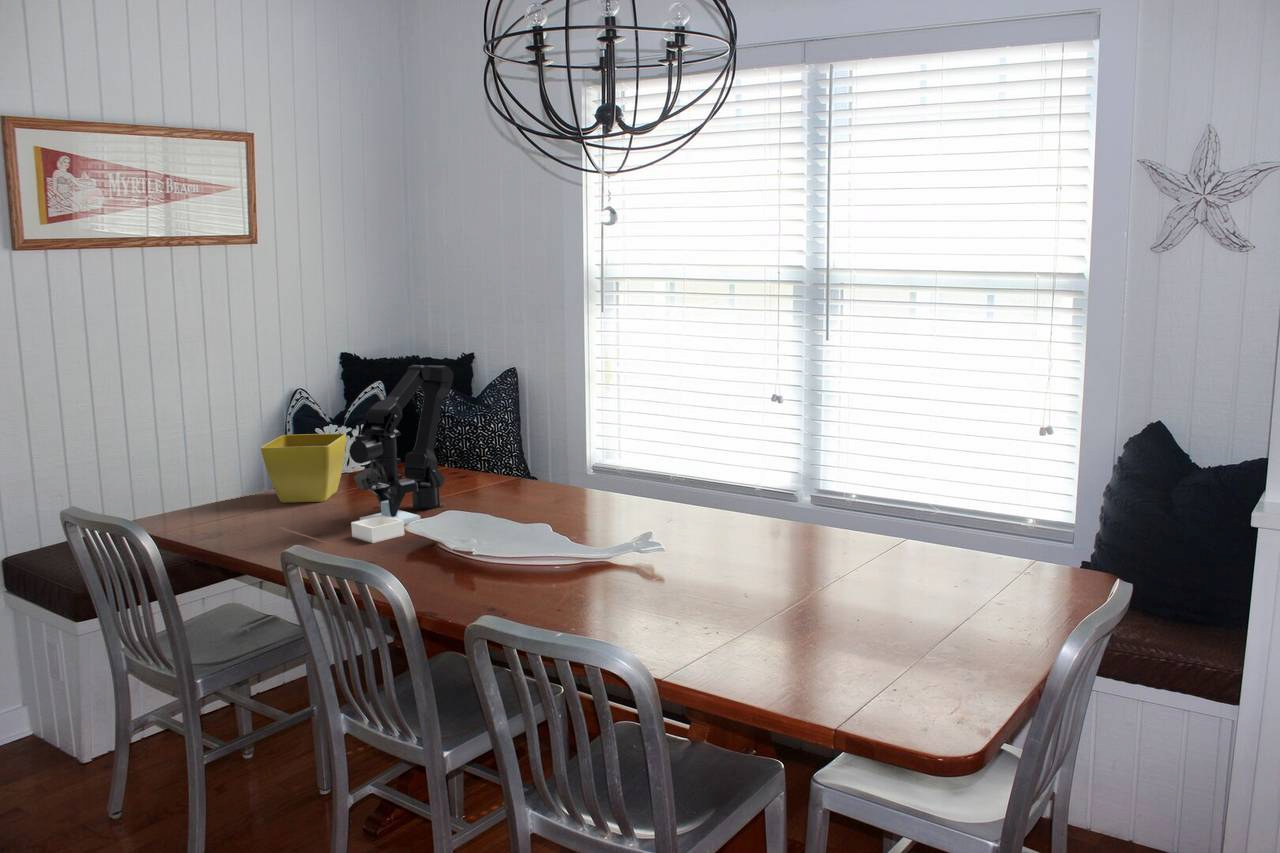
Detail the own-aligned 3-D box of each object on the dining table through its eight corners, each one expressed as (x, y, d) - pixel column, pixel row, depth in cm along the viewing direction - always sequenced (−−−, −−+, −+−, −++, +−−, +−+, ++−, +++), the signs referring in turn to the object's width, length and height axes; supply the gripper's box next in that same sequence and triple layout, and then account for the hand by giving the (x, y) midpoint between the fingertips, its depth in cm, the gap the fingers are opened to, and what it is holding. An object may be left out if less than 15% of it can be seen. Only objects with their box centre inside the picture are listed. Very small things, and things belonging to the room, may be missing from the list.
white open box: (384, 530, 273) (382, 515, 272) (404, 536, 267) (403, 520, 266) (352, 538, 266) (351, 522, 266) (372, 544, 260) (371, 528, 260)
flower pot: (332, 504, 302) (327, 445, 300) (264, 506, 303) (259, 447, 300) (351, 489, 321) (347, 433, 318) (287, 490, 322) (282, 434, 319)
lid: (396, 513, 288) (394, 494, 287) (420, 520, 281) (419, 500, 280) (359, 522, 280) (358, 502, 279) (383, 529, 273) (382, 508, 272)
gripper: (337, 456, 278) (342, 516, 281) (378, 465, 265) (383, 527, 268) (375, 449, 286) (379, 507, 289) (417, 458, 273) (421, 518, 276)
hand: (389, 515), depth 280 cm, fingers closed on lid, 3 cm apart
